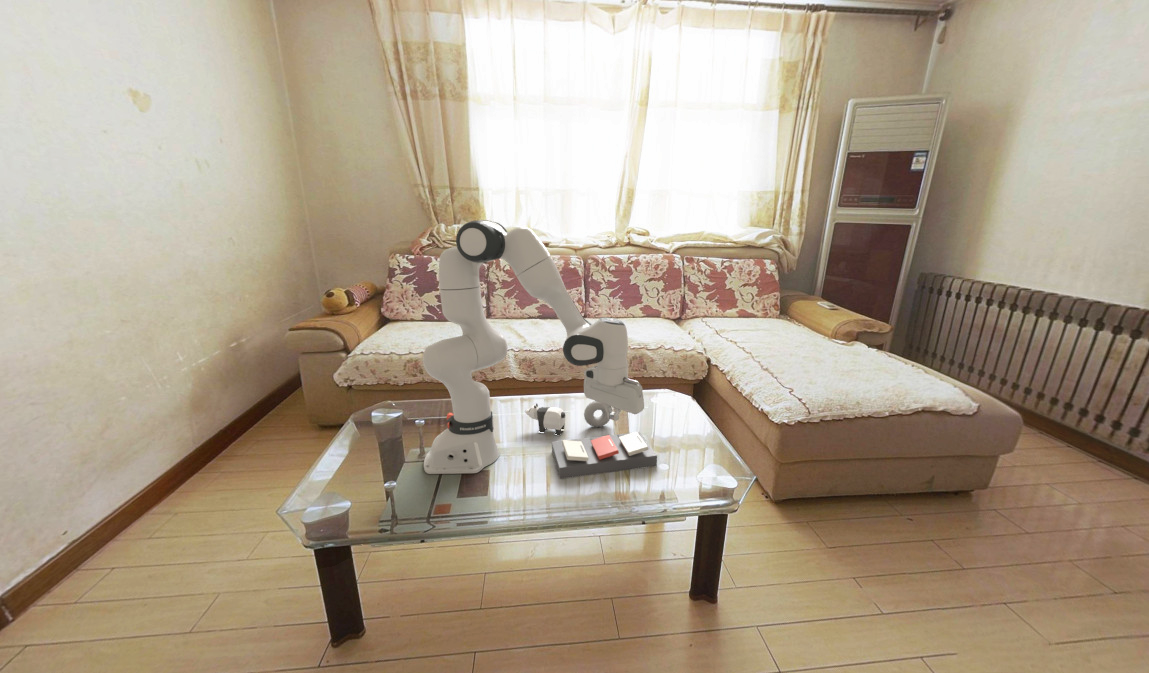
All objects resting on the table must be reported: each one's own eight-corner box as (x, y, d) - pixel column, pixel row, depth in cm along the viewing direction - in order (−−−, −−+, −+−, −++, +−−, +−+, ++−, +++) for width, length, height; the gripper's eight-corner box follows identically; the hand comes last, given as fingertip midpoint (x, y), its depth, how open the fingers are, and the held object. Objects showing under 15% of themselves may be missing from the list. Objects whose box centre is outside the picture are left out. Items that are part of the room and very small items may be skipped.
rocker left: (567, 459, 118) (568, 455, 118) (561, 443, 127) (562, 439, 127) (587, 461, 120) (588, 457, 119) (580, 444, 129) (581, 441, 128)
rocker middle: (599, 459, 120) (598, 456, 120) (591, 443, 129) (590, 440, 129) (618, 453, 121) (618, 449, 121) (609, 437, 130) (608, 434, 130)
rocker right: (629, 456, 122) (628, 452, 121) (619, 440, 131) (618, 436, 131) (648, 449, 123) (647, 446, 122) (637, 434, 132) (636, 431, 131)
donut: (585, 430, 146) (585, 403, 144) (583, 425, 150) (582, 399, 147) (613, 427, 148) (613, 401, 146) (610, 423, 151) (610, 397, 149)
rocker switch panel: (559, 478, 118) (559, 465, 117) (552, 451, 133) (551, 439, 131) (656, 466, 124) (657, 453, 123) (639, 441, 138) (639, 429, 137)
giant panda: (568, 429, 147) (567, 404, 145) (562, 437, 142) (562, 411, 139) (529, 424, 151) (528, 400, 149) (523, 431, 146) (521, 406, 144)
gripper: (649, 379, 115) (648, 425, 118) (594, 364, 129) (595, 406, 132) (634, 385, 110) (634, 433, 114) (579, 369, 125) (581, 413, 128)
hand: (613, 419), depth 123 cm, fingers closed
